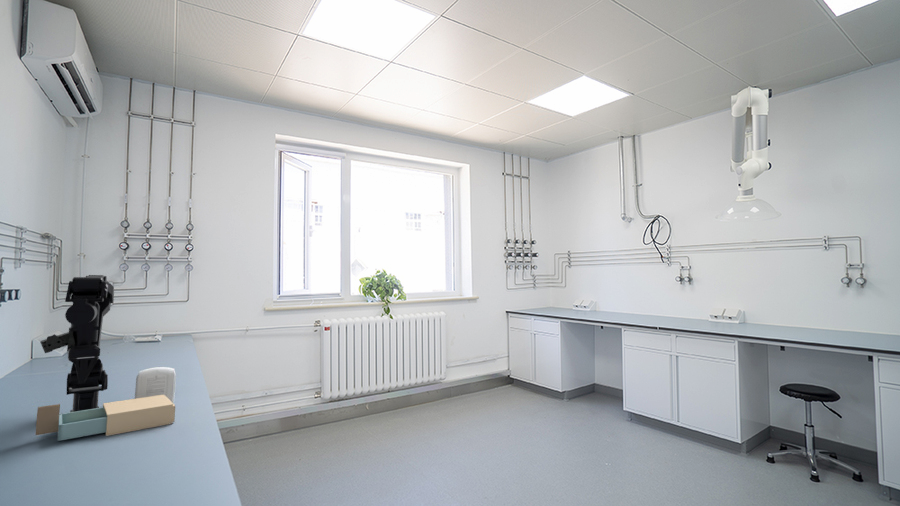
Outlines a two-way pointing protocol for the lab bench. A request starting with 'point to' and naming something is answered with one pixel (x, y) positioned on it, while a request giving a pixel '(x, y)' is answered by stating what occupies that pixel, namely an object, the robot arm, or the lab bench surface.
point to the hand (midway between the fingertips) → (80, 380)
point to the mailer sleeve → (138, 414)
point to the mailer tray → (70, 422)
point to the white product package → (156, 383)
